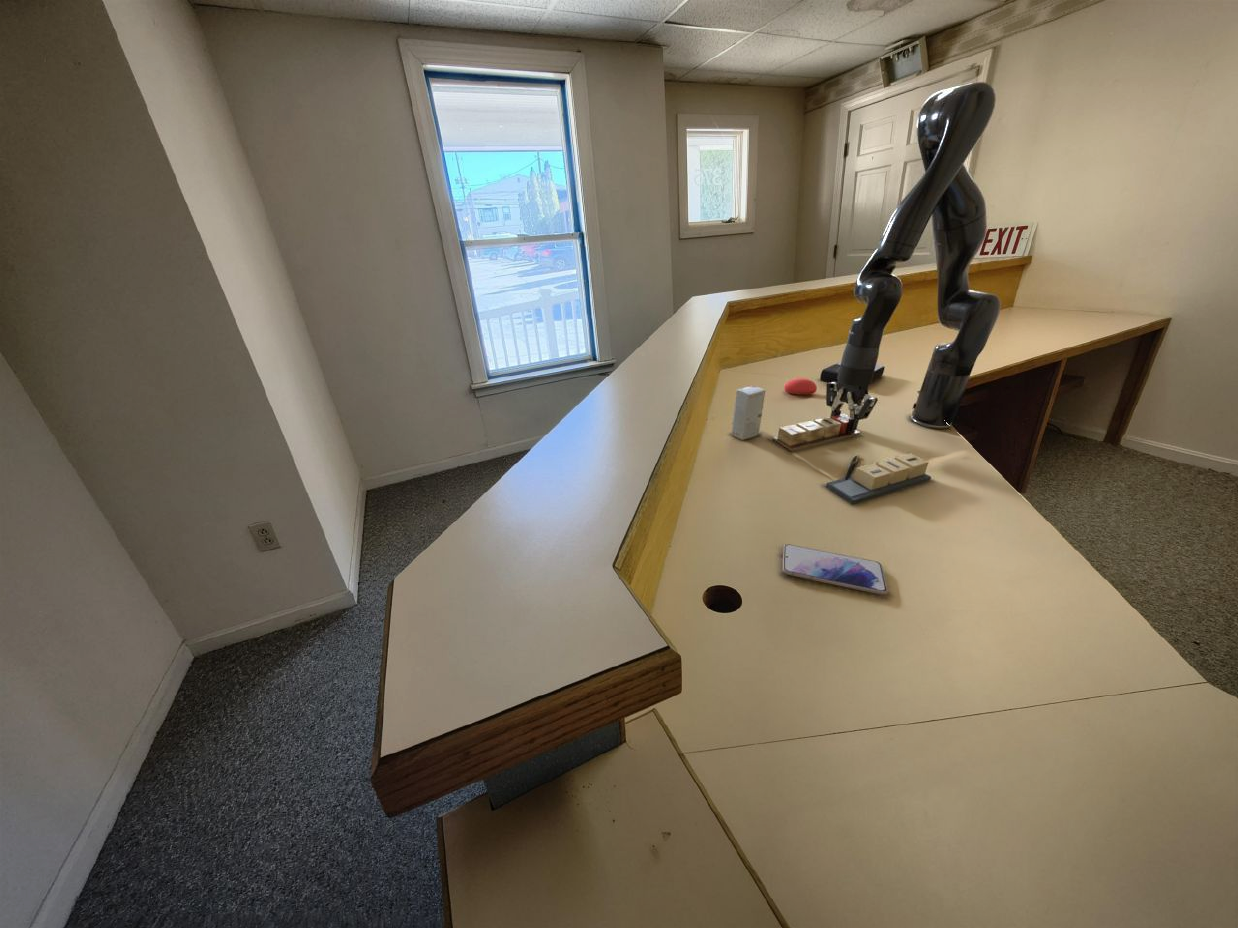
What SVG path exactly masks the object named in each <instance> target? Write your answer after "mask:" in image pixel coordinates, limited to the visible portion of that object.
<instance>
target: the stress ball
mask: <svg viewBox="0 0 1238 928" xmlns="http://www.w3.org/2000/svg"><path fill="white" fill-rule="evenodd" d="M817 388H818V387H817V384H816V382H814V381H813V380H811V379H808V378H799V377H798V378H793V379H791V380H788V381H787V382H785V384H784V386H783V390H784V392H786V393H788V394H790V395H791V394H792V395H803V396H809V395H813V394H815V393H816V392H817V390H818V389H817Z"/></svg>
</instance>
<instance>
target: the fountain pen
mask: <svg viewBox="0 0 1238 928" xmlns="http://www.w3.org/2000/svg"><path fill="white" fill-rule="evenodd" d="M859 459H860V455H859V454H857V455H855V456H854V457H853V458H852V460H851V462H850V465H849V467H848V469H847V471H846V474H845V477H844V478H845V479H847V480H848V479H849V477H850V476H852V474H853V473H854V470H855V469H856V466H857V464H858V462H859Z"/></svg>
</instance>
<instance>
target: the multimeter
mask: <svg viewBox="0 0 1238 928" xmlns="http://www.w3.org/2000/svg"><path fill="white" fill-rule="evenodd" d="M840 365H841V361H838V362H836V363H834V364H832V365H830V366H828V367H826V368H823V369H822V370H821V373H820V378H819V379H820V381H822V382H823V381H824V382H827V383H831V382H838V379H837V377H838V373H839V369H840ZM885 368H886V367H885V366H884V365H882V364H877V363H876V367H875V370H874V374H873V378H872V381H871V383H873V382H875V381H876V380H878V379H880V378H881V377H883V376H884V372H885Z"/></svg>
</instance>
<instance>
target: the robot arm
mask: <svg viewBox="0 0 1238 928" xmlns="http://www.w3.org/2000/svg"><path fill="white" fill-rule="evenodd" d="M995 107H996V92H995V89H994V87H992V85H991V84H990V83H988V82H984V81H979V82H978V81H977V82H971V83H967V84H963V85H959V86H954V87H950V88H946V89H942V90H940V91H937V92H935V93H933V94H932V95H930V96H929V97H928V98H927V99H926V101H925V102H924V103H923V104H922V107H921V108H920V110H919V113H918V117H917V121H916V137H917V138H916V139H917V144H918V148H919V153H920V157H921V160H922V164H923V165H922V166H923V168H924V174H923V175H921V178H920V179H919V180H918V181H917V182H916V184H915V185H914V186H913V187H912V188H911V190H910V191H909V192H907V194H906V195H905V197H904V198H903V199H902V200H901V201H900V203H899V204H898V205H897V207H896V209H895V210H894V211H893V213H892V215H891V216H890V219H889V221H888V222H887V225H886V227H885V230H884V232H883V234H882V236H881V239H880V241H879V242H878V246H877V248H876V250H875V251H874V252H873V254H872V255H871V256H870V258H869V259H868V261H867V262H866V263H865V265H864V267H863V268H862V270H861V271H860V273H859V274H858V276H857V278H856V280H855V283H854V287H853V296H854V299H855V300H856V301H857V303H859V304H862V305H865V306H866V307H865V310H864V312H863V313H862V316H859V317H856V318H854V319H853V321H852V322H851V325H850V328H849V333H848V337H847V340H846V344H845V347H844V350H843V352H842V357H841V360H840V362H841V365H840V369H839V373H838V377H837V379H838V382H831V383H830V382H827V383H826V385H825V386H826V387H825V388H826V389H825V391H826V392H825V393H826V395H825V405H826V406H827V407H830V410H831V413H830V417H829V418H831V416H835V415H840V414H842V410H841V409H842V408H843V407H844V405H845V404H847V409H848V411H849V416H850V419H849V421H848V425H847V429H846V432H848V433H851V432H854V431H855V430H857V429H858V424H859V421H861V420H866V419H868V418H869V416H870V415H871V413H872V411H873V409H874V408H875V406H876V405H877V403H878V400H879V399H878V397H872V396H871V395H870V394H869V386H871V383H872V382H871V381H872V378H873V374H874V370H875V367H876V364H877V362H878V358H879V354H880V348H881V344H882V341H883V336H884V333H885V329H886V327H887V326H888V323H889V322H890V320H891V318H892V317H893V314H894V313H895V311H896V309H897V308H898V306H899V304H900V301H901V299H902V295H903V283H902V281H901V279H900V278H899V277H898V276H896V275H894V274H892V273H893V272H894V270H895V269H896V268H897V266H898V265H900V264H904V263H907V262H909V260H911V258H912V256H913V254H914V253H915V250H916V248H917V246H918V244H919V242H920V240H921V238H922V236H923V234H924V232H925V229H926V228H927V226H928V223H929V222H930V219H931V227H932V237H933V244H934V250H935V257H936V258H935V259H936V261H935V262H936V273H937V274H936V275H937V300H936V301H937V302H936V303H937V306H936V309H937V310H936V311H937V312H936V313H937V319H938V321H939V323H940V325H941V326H942V327H944V328H947V329H949V330H953V331H958V333H957V335H956V337H955V338H954V340H953V341H952V342H945V343H939V344H936V346H935V347H934V348H933V351H932V353H931V357H930V359H929V363H928V365H927V369H926V372H925V374H924V377H923V380H922V384H921V386H920V389H919V393H918V395H917V399H916V401H915V403H913V405H912V408H911V410H912V413H911V415H910V420H911V421H912V422H913V423H915V424H917V425H919V426H922V427H925V428H930V429H943V430H944V429H948V428H950V426H951V427H952V425H953V423H954V421H955V419H956V416H957V413H958V411H959V408H960V405H961V403H962V400H963V397H964V395H965V392H966V387H967V384H968V382H969V379H970V377H971V374H972V371H973V369H974V367H975V364H976V362H977V359H978V357H979V355H980V354H981V353H982V351H983V350H984V349H985V347H986V345H987V342H988V341H989V338H990V336H991V334H992V332H993V329H994V327H995V325H996V323H997V321H998V318H999V315H1000V312H1001V307H1002V303H1001V298H1000V297H999V296H998V295H996V294H994V293H991V292H983V291H980V290H979V291H978V290H972V288H971V287H970V283H969V268H970V265H971V263H972V261H973V260H974V258H975V257H976V255H977V253H978V251H979V250H980V249H981V247H982V245H983V244H984V241H985V239H986V236H987V229H988V223H987V206H986V200H985V198H984V195H983V193H982V191H981V190H980V188H979V186H978V185H977V183H976V181H975V180H974V179H973V177H972V176H971V174H970V173H969V171H968V169H967V168H966V165H965V164H964V163H965V162H966V160H967V159H968V157H969V155H970V154H971V153H972V151H973V149H974V147H975V146H976V145H977V143H978V141H979V140H980V139H981V137H982V135H983V134H984V132H985V130H986V128H987V126H988V125H989V123H990V121H991V119H992V117H993V114H994V111H995ZM944 420H945V421H944ZM946 422H947V423H948V424H949V425H950V426H949V425H947V424H946Z"/></svg>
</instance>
